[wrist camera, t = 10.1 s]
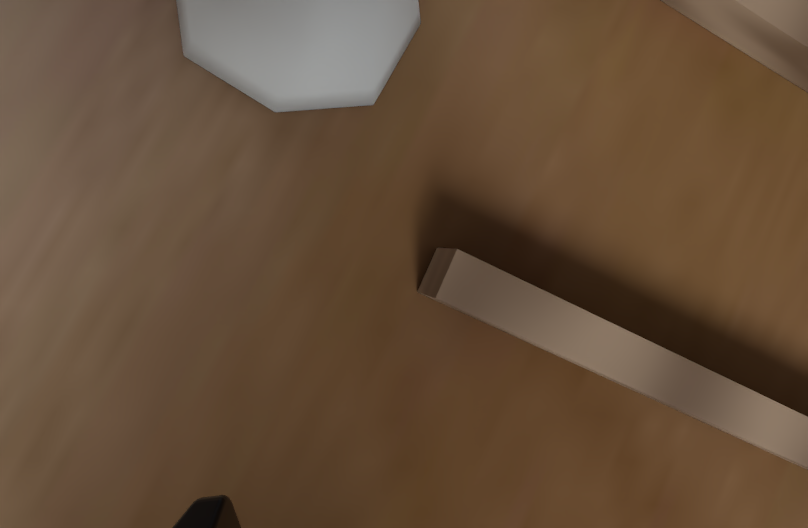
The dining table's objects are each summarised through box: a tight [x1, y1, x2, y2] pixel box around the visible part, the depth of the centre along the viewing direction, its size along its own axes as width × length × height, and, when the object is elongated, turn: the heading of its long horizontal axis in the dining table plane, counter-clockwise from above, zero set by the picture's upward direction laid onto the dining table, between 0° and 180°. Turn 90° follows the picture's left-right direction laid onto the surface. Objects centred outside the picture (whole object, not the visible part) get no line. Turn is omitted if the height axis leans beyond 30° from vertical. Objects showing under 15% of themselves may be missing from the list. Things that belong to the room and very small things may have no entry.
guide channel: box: [417, 0, 808, 470], centre depth 22 cm, size 18×14×2 cm
